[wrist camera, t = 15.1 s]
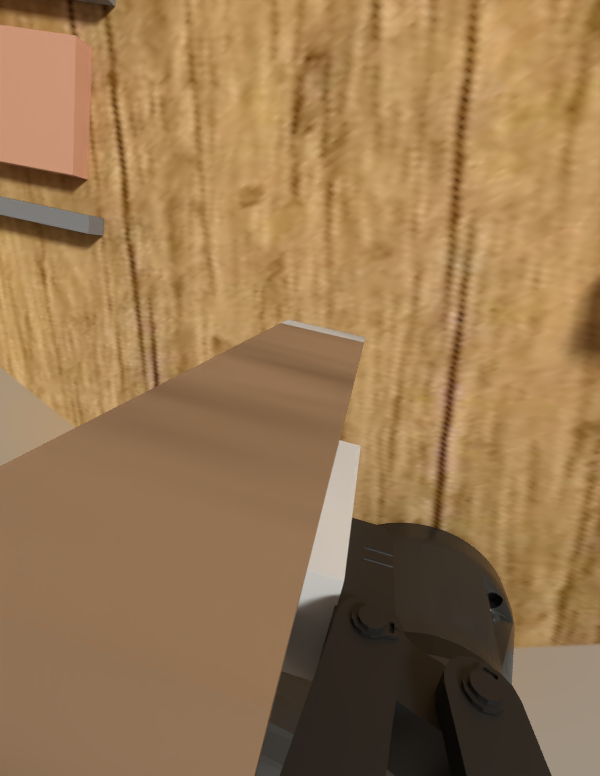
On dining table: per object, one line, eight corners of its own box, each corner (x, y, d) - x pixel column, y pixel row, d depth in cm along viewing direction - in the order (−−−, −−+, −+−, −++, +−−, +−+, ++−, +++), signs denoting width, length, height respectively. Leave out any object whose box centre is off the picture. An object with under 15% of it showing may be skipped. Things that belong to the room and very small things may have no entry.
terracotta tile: (92, 180, 30) (72, 175, 28) (-4, 162, 31) (-29, 155, 29) (96, 51, 28) (75, 35, 26) (-8, 36, 29) (-35, 19, 27)
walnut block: (315, 536, 18) (140, 1235, 5) (250, 517, 19) (-74, 1124, 5) (365, 337, 16) (269, 710, 2) (288, 319, 16) (-173, 554, 3)
